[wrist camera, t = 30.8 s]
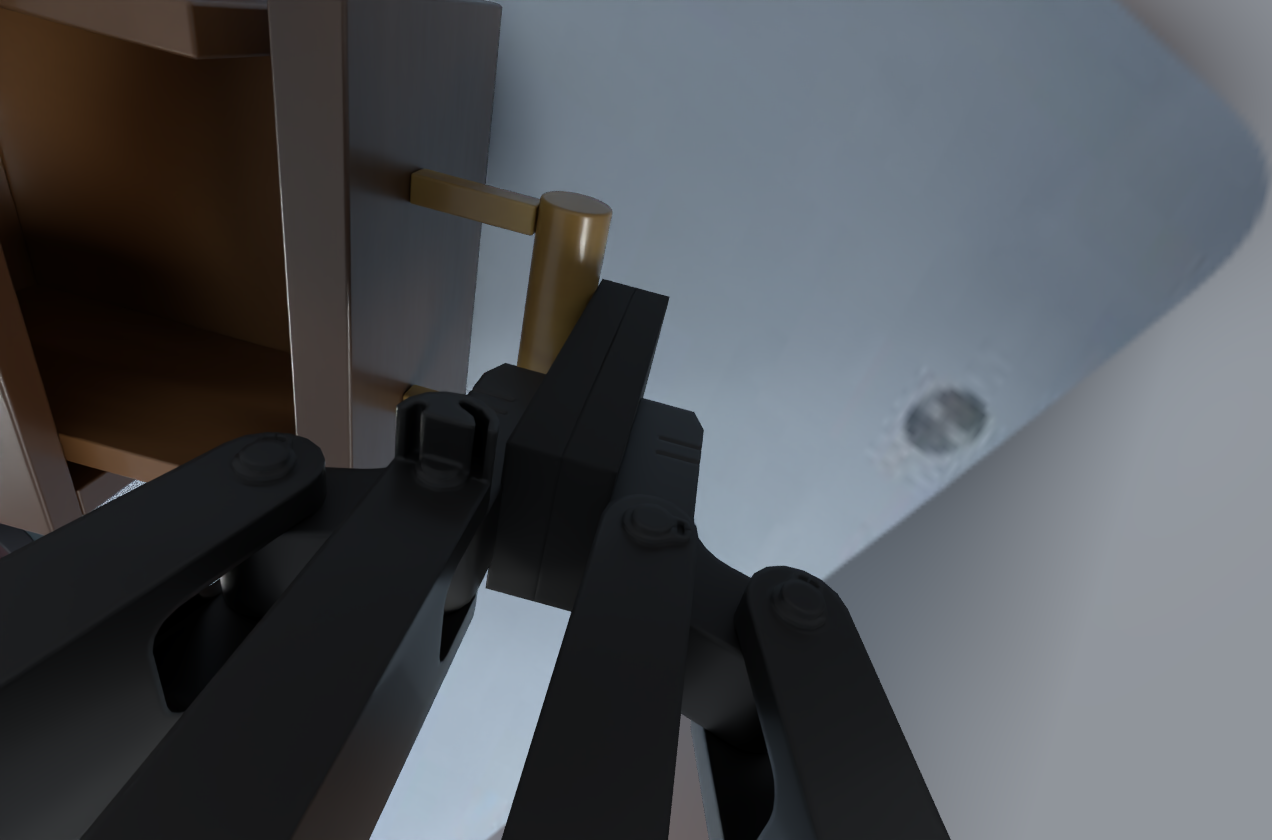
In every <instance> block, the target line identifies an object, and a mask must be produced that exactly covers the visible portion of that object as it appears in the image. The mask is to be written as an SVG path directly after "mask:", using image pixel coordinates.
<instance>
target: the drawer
mask: <svg viewBox="0 0 1272 840" xmlns="http://www.w3.org/2000/svg"><path fill="white" fill-rule="evenodd" d="M501 15H502V6H501V5H500V4H498V3H494V2H490V1H486V0H0V241H1V244H2V248H3V251H4V254H5V258H6V261H7V264H8V268H9V271H10V274H11V278H12V281H13V284H14V288H15V291H16V294H17V298H18V301H19V304H20V308H21V311H22V314H23V318H24V321H25V324H26V328H27V331H28V334H29V338H30V341H31V345H32V348H33V351H34V355H35V358H36V361H37V365H38V368H39V371H40V375H41V378H42V381H43V385H44V388H45V391H46V395H47V398H48V401H49V405H50V408H51V411H52V415H53V418H54V421H55V425H56V428H57V431H58V435H59V438H60V441H61V445H62V448H63V451H64V455H65V458H66V460H67V461H71V462H74V463H78V464H82V465H85V466H89V467H92V468H96V469H100V470H103V471H107V472H110V473H114V474H118V475H121V476H125V477H129V478H132V479H136V480H139V481H143V482H149V481H151V480H153V479H155V478H157V477H159V476H161V475H163V474H165V473H167V472H169V471H171V470H172V469H174V468H176V467H178V466H180V465H182V464H184V463H186V462H188V461H190V460H192V459H194V458H196V457H198V456H200V455H202V454H203V453H205V452H207V451H209V450H211V449H213V448H215V447H217V446H219V445H221V444H223V443H225V442H228V441H230V440H233V439H236V438H238V437H241V436H244V435H249V434H256V433H263V432H279V433H291V434H294V435H297V436H301V437H304V438H307V439H309V440H310V441H312V442H313V443H315V444H316V445H317V446H319V447H320V448H321V451H322V453H323V455H324V458H325V467H337V468H357V469H374V468H384V467H387V466H388V465H389V464H390V462H391V461H392V460H393V459H394V458H395V427H396V405H398V404H399V403H401V402H402V401H404V400H405V399H407V398H408V397H411V396H414V395H418V394H421V393H425V392H440V391H448V392H454V393H460V394H466V383H467V373H468V362H469V352H470V341H471V331H472V320H473V310H474V299H475V289H476V278H477V267H478V257H479V246H480V236H481V225H482V223H485V224H489V225H492V226H496V227H500V228H504V229H507V230H511V231H515V232H519V233H522V234H526V235H533V234H534V233H535V239H534V246H533V253H532V261H531V268H530V275H529V282H528V289H527V296H526V304H525V311H524V318H523V325H522V332H521V339H520V347H519V354H518V361H517V366H518V367H521V368H525V369H529V370H532V371H536V372H540V373H544V374H547V372H548V371H549V369H550V367H551V365H552V364H553V362H554V360H555V359H556V357H557V355H558V354H559V352H560V350H561V349H562V347H563V345H564V343H565V342H566V340H567V338H568V337H569V335H570V333H571V332H572V330H573V328H574V326H575V325H576V323H577V321H578V320H579V318H580V316H581V315H582V313H583V311H584V309H585V308H586V306H587V304H588V303H589V301H590V299H591V298H592V296H593V294H594V293H595V291H596V289H597V288H598V283H599V278H600V273H601V268H602V263H603V258H604V253H605V248H606V243H607V238H608V233H609V228H610V223H611V218H612V209H611V208H610V207H609V206H608V205H607V204H605V203H604V202H602V201H600V200H597V199H595V198H592V197H589V196H586V195H582V194H578V193H573V192H565V191H552V192H546V193H544V194H542V196H541V197H540V199H537V198H534V197H530V196H526V195H522V194H519V193H515V192H511V191H507V190H504V189H500V188H496V187H492V186H489V185H485V183H486V173H487V162H488V152H489V141H490V131H491V120H492V109H493V99H494V88H495V78H496V67H497V57H498V46H499V36H500V25H501Z"/></svg>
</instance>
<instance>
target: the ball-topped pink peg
mask: <svg viewBox="0 0 1272 840" xmlns="http://www.w3.org/2000/svg"><path fill="white" fill-rule="evenodd" d="M33 541H34V540H33V539H32V538H31V537H30V536H29V535H28V534H27V533H26V532H25V531H24V530H23V529H19V528H16V527H12V526H9V525H5V524H2V523H0V558H2V557H4V556H6V555H8V554H10V553H12V552H13V551H15V550H17V549H19V548H21V547H23V546H25V545H27V544H29V543H31V542H33Z"/></svg>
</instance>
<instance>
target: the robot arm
mask: <svg viewBox="0 0 1272 840" xmlns="http://www.w3.org/2000/svg"><path fill="white" fill-rule="evenodd" d="M668 301H669V297H668V296H664V295H661V294H657V293H653V292H649V291H646V290H642V289H638V288H634V287H631V286H627V285H623V284H620V283H616V282H612V281H608V280H605V279H602V281H601V282H600V284H599V286H598V288H597V289H596V291H595V293H594V294H593V296H592V298H591V299H590V301H589V303H588V304H587V306H586V308H585V309H584V311H583V313H582V315H581V316H580V318H579V320H578V321H577V323H576V325H575V326H574V328H573V330H572V332H571V333H570V335H569V337H568V338H567V340H566V342H565V343H564V345H563V347H562V349H561V350H560V352H559V354H558V355H557V357H556V359H555V360H554V362H553V364H552V365H551V367H550V369H549V371H548V372H547V374H544V373H540V372H536V371H532V370H529V369H525V368H521V367H518V366H514V365H510V364H507V363H504V364H502V365H500V366H498V367H496V368H494V369H492V370H489V371H487V372H485V373H484V374H483V375H482V377H481V378H480V379H479V380H478V382H477V383H476V384H475V386H474V387H473V390H472V391H470V392H469V393H468V395H466V394H460V393H454V392H448V391H440V392H425V393H421V394H418V395H414V396H411V397H408V398H407V399H405V400H404V401H402V402H401V403H399V404H398V405H396V427H395V458H394V459H393V460H392V461H391V462H390V464H389V465H388V466H387V467H384V468H374V469H357V468H337V467H325V458H324V455H323V453H322V451H321V448H320V447H319V446H317V445H316V444H315V443H313V442H312V441H310V440H309V439H307V438H304V437H301V436H297V435H294V434H291V433H279V432H263V433H256V434H249V435H244V436H241V437H238V438H236V439H233V440H230V441H228V442H225V443H223V444H221V445H219V446H217V447H215V448H213V449H211V450H209V451H207V452H205V453H203V454H202V455H200V456H198V457H196V458H194V459H192V460H190V461H188V462H186V463H184V464H182V465H180V466H178V467H176V468H174V469H172V470H171V471H169V472H167V473H165V474H163V475H161V476H159V477H157V478H155V479H153V480H151V481H149V482H147V483H145V484H143V485H141V486H140V487H138V488H136V489H134V490H132V491H130V492H128V493H126V494H124V495H122V496H120V497H118V498H116V499H114V500H112V501H110V502H108V503H107V504H105V505H103V506H101V507H99V508H97V509H95V510H93V511H91V512H89V513H87V514H85V515H83V516H81V517H79V518H77V519H76V520H74V521H72V522H70V523H68V524H66V525H64V526H62V527H60V528H58V529H56V530H54V531H52V532H50V533H48V534H46V535H44V536H43V537H41V538H39V539H37V540H35V541H33V542H31V543H29V544H27V545H25V546H23V547H21V548H19V549H17V550H15V551H13V552H12V553H10V554H8V555H6V556H4V557H2V558H0V840H369V839H370V836H371V834H372V832H373V830H374V828H375V826H376V824H377V821H378V819H379V817H380V815H381V813H382V811H383V809H384V806H385V804H386V802H387V800H388V798H389V796H390V794H391V791H392V789H393V787H394V785H395V783H396V781H397V779H398V776H399V774H400V772H401V770H402V768H403V766H404V764H405V761H406V759H407V757H408V755H409V753H410V751H411V749H412V746H413V744H414V742H415V740H416V738H417V736H418V734H419V731H420V729H421V727H422V725H423V723H424V721H425V719H426V716H427V714H428V712H429V710H430V708H431V706H432V704H433V702H434V699H435V697H436V695H437V693H438V691H439V689H440V687H441V684H442V682H443V680H444V678H445V676H446V674H447V672H448V669H449V667H450V665H451V663H452V661H453V659H454V657H455V654H456V652H457V650H458V648H459V646H460V644H461V642H462V639H463V637H464V635H465V633H466V631H467V629H468V627H469V624H470V622H471V620H472V618H473V615H474V610H475V605H476V598H477V591H478V588H479V586H480V584H481V582H482V580H483V578H484V576H485V574H486V572H487V570H488V575H487V582H486V588H487V589H491V590H494V591H498V592H502V593H505V594H509V595H513V596H516V597H520V598H524V599H527V600H531V601H535V602H538V603H542V604H545V605H549V606H553V607H556V608H560V609H564V610H567V611H571V615H570V618H569V622H568V625H567V628H566V631H565V635H564V638H563V641H562V644H561V648H560V651H559V654H558V657H557V661H556V664H555V667H554V670H553V674H552V677H551V680H550V683H549V687H548V690H547V693H546V696H545V700H544V703H543V706H542V709H541V713H540V716H539V719H538V722H537V726H536V729H535V732H534V735H533V739H532V742H531V745H530V748H529V752H528V755H527V758H526V761H525V764H524V768H523V771H522V774H521V777H520V781H519V784H518V787H517V790H516V794H515V797H514V800H513V803H512V807H511V810H510V813H509V816H508V820H507V823H506V826H505V829H504V833H503V836H502V839H501V840H668V835H669V825H670V815H671V806H672V795H673V785H674V776H675V766H676V756H677V746H678V737H679V727H680V716H681V714H683V715H684V716H686V717H687V718H689V719H690V720H691V733H692V739H693V745H694V751H695V757H696V763H697V769H698V776H699V782H700V788H701V794H702V799H703V806H704V811H705V818H706V824H707V830H708V836H709V840H951V839H950V837H949V835H948V833H947V830H946V828H945V826H944V824H943V821H942V819H941V817H940V815H939V813H938V810H937V808H936V806H935V804H934V801H933V799H932V797H931V795H930V792H929V790H928V788H927V786H926V784H925V781H924V779H923V777H922V774H921V773H920V770H919V768H918V766H917V763H916V761H915V759H914V757H913V754H912V752H911V750H910V748H909V745H908V743H907V741H906V739H905V736H904V735H903V732H902V730H901V727H900V725H899V723H898V721H897V718H896V716H895V714H894V712H893V709H892V707H891V705H890V703H889V700H888V698H887V696H886V694H885V692H884V689H883V687H882V685H881V683H880V680H879V678H878V676H877V674H876V672H875V669H874V667H873V665H872V663H871V660H870V658H869V656H868V653H867V651H866V649H865V647H864V644H863V642H862V640H861V638H860V636H859V633H858V631H857V629H856V627H855V624H854V622H853V620H852V618H851V616H850V613H849V611H848V609H847V608H846V606H845V605H844V603H843V601H842V600H841V598H840V597H839V595H838V594H837V593H836V592H835V591H833V590H832V589H831V588H830V587H829V586H828V585H827V584H825V583H824V582H823V581H822V580H821V579H819V578H817V577H815V576H813V575H811V574H809V573H807V572H805V571H803V570H799V569H795V568H791V567H787V566H772V567H766V568H764V569H762V570H760V571H758V572H756V573H754V574H753V576H752V578H750V577H748V576H746V575H744V574H743V573H741V572H739V571H737V570H735V569H733V568H732V567H730V566H728V565H727V564H725V563H723V562H722V561H720V560H719V559H717V558H716V557H715V556H714V555H713V554H712V553H711V552H710V551H708V550H707V549H706V547H705V546H704V545H703V543H702V542H701V541H700V539H699V538H698V533H697V528H696V525H695V524H694V512H695V503H696V494H697V485H698V476H699V467H700V465H699V464H700V458H701V448H702V441H703V432H704V430H703V428H702V426H701V424H700V422H699V420H698V418H697V417H696V415H695V413H694V412H692V411H688V410H684V409H681V408H677V407H673V406H670V405H666V404H662V403H659V402H655V401H651V400H647V399H644V398H643V395H644V392H645V388H646V384H647V380H648V377H649V373H650V369H651V365H652V361H653V358H654V354H655V350H656V346H657V343H658V339H659V335H660V331H661V327H662V324H663V320H664V316H665V312H666V309H667V305H668ZM219 578H220V579H219ZM218 579H219V580H218ZM216 580H217V581H216ZM215 581H216V582H215ZM213 582H215V583H213ZM212 583H213V584H212ZM211 584H212V585H211ZM209 585H210V586H209Z"/></svg>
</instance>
